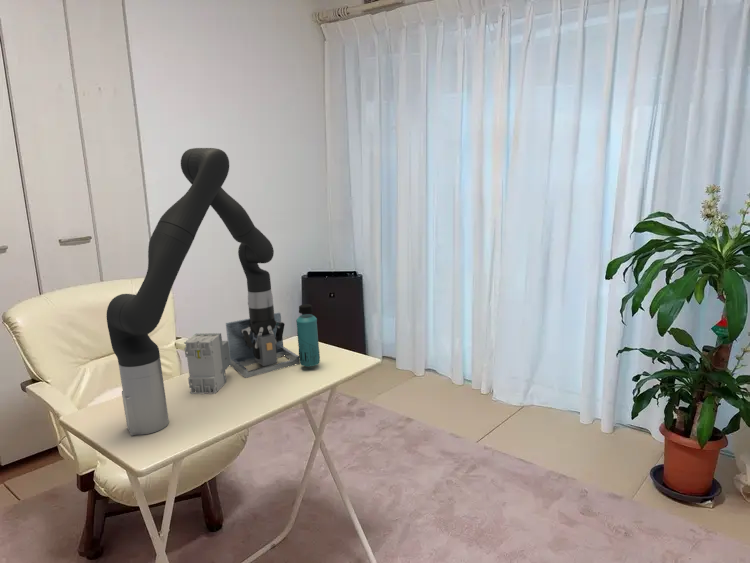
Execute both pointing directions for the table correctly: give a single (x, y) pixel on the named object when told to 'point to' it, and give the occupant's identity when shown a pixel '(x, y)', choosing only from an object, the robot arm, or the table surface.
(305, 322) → the beverage bottle
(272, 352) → the block
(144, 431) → the robot arm
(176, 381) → the table surface
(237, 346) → the grey frame with backplate
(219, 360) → the circuit breaker
